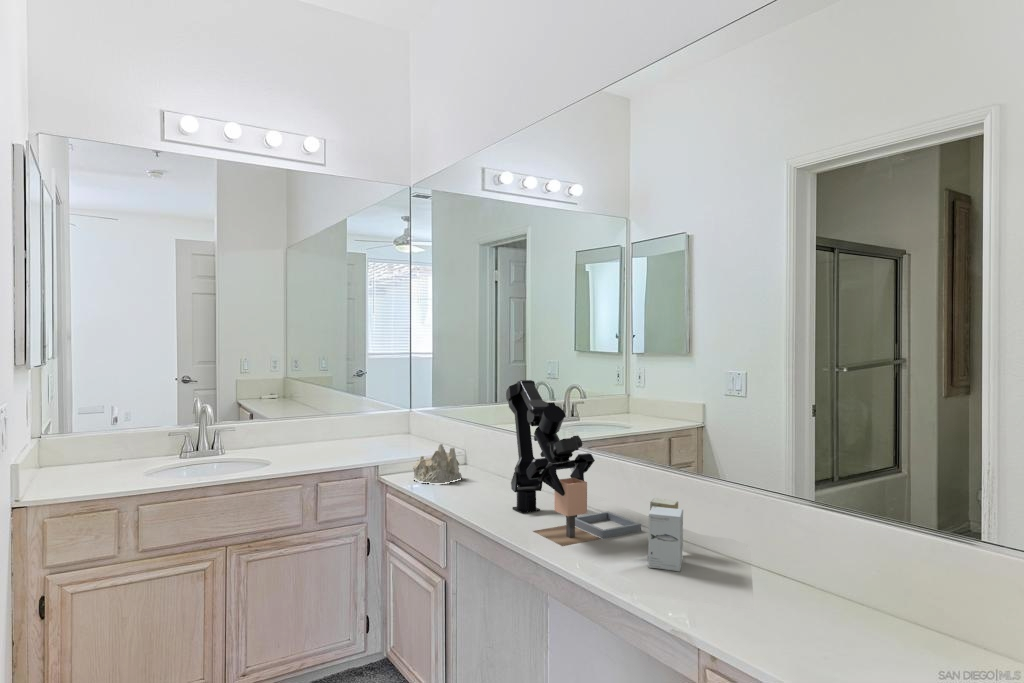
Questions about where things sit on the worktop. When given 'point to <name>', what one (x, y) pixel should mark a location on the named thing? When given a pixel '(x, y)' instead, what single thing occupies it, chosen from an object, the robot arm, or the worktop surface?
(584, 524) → the charcoal tray
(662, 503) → the skincare box
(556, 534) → the walnut base
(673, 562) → the supplement box
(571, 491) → the terracotta collar
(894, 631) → the worktop surface
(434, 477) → the miniature mountain rock
